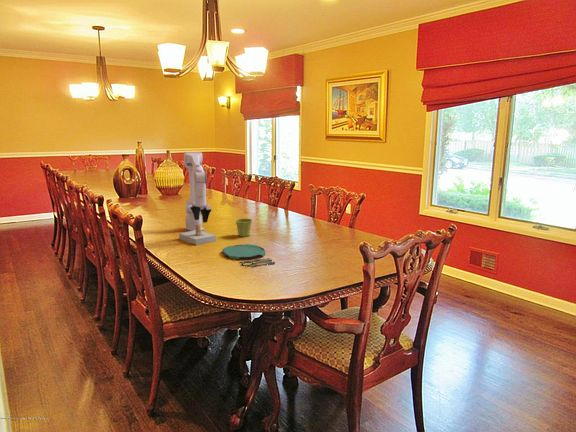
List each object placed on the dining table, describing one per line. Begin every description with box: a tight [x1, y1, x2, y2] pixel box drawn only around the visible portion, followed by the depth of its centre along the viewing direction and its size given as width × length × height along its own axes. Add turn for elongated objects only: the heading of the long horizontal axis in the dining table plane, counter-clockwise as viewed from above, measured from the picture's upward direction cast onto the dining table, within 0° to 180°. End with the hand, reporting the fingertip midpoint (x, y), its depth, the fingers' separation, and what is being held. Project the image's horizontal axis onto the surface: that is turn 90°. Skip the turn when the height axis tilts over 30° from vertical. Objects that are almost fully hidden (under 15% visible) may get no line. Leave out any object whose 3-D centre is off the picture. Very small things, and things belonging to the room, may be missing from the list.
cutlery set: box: [222, 243, 276, 268], centre depth 196 cm, size 20×30×2 cm, turn 24°
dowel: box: [195, 224, 203, 236], centre depth 222 cm, size 3×3×8 cm
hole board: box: [178, 230, 217, 246], centre depth 223 cm, size 16×12×3 cm
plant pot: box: [234, 218, 253, 238], centre depth 233 cm, size 9×9×9 cm
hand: (201, 221), depth 223 cm, fingers open, 7 cm apart
